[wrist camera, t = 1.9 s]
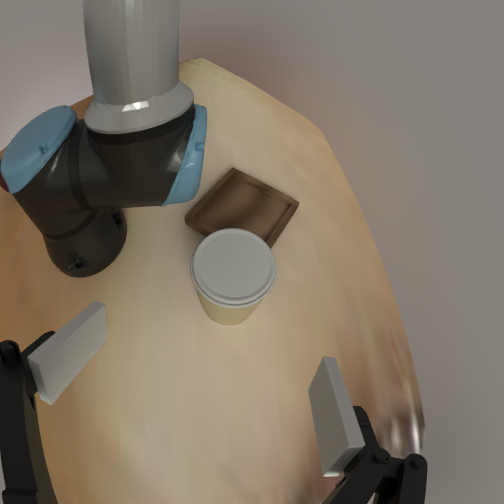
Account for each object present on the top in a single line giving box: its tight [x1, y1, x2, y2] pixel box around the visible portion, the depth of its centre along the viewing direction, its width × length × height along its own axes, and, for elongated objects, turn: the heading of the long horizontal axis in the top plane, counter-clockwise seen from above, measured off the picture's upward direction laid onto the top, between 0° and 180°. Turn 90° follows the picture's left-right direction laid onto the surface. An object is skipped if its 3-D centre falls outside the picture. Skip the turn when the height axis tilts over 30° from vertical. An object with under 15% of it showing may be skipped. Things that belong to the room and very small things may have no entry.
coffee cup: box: [190, 228, 277, 325], centre depth 34 cm, size 9×9×12 cm
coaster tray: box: [185, 168, 300, 249], centre depth 46 cm, size 14×14×2 cm
